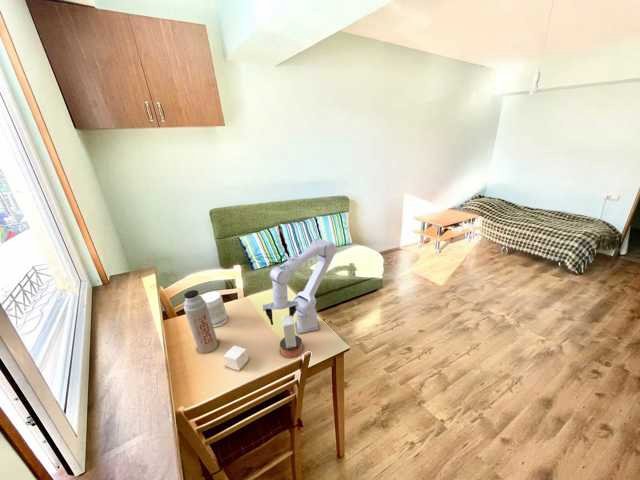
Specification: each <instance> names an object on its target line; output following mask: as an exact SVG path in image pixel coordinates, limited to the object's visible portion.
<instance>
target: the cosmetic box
mask: <svg viewBox="0 0 640 480" xmlns="http://www.w3.org/2000/svg"><path fill="white" fill-rule="evenodd" d="M281 320H282V327H283V334H284V338H285V342H286V348H291V347H296V338H295V335H296V330H295V322H294V317H293V318H292V316H289V315H288V316H282V319H281Z"/></svg>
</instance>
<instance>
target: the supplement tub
mask: <svg viewBox="0 0 640 480" xmlns="http://www.w3.org/2000/svg"><path fill="white" fill-rule="evenodd" d="M200 296H201V297H202V298H203V300H205V301H206V305H207V308H208V312H209V315H210V318H211V321H212V325H213V328H216V327H220V326H222V325H224V324H225V323H226V322H227V321H228V317H229V316H228V314H227V309H226V306H225V303H224V300H223V296H222V294H221V293H220V292H219V291H209V292H206V293H203V294H202V295H200Z"/></svg>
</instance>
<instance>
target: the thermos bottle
mask: <svg viewBox="0 0 640 480" xmlns="http://www.w3.org/2000/svg"><path fill="white" fill-rule="evenodd" d="M183 296H184V298H185V299H184V301H183V305H184V306H183V311H184V313H185V316H186V318H187V322H188V325H189V327H190V330H191V333H192V336H193V339H194V342H195V346H196V348H197V350H198V352H199V353H201V354H207V353H210V352H212V351H214V350H215V349H216V348H217V347H218V346H219V341H218V339H217V336H216V331H215V327H213V325H212V321H211V318H210V315H209V312H208V308H207V305H206V301H205V300H203V298H202V297H201V296H202V295H200V294H199V291H198V290H197V289H192V290H188V291H186V292H184V294H183Z"/></svg>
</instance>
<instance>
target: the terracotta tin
mask: <svg viewBox="0 0 640 480" xmlns="http://www.w3.org/2000/svg"><path fill="white" fill-rule="evenodd" d="M295 338H296V347H291V348H286V342H285V337H283V338H282V339H281V340H280V342H279V348H280V353H281V355H282V356H284V357H286V358H295V357H297V356H299V355H300V354H301V353H302V351H303V342H302V341H303V340H302V338H301V337H300V336H298V335H296V334H295Z"/></svg>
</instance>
